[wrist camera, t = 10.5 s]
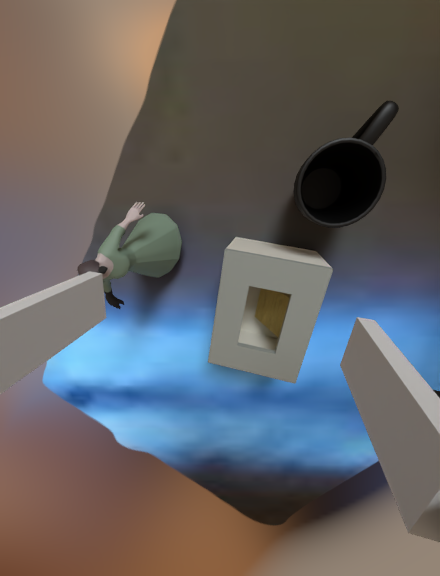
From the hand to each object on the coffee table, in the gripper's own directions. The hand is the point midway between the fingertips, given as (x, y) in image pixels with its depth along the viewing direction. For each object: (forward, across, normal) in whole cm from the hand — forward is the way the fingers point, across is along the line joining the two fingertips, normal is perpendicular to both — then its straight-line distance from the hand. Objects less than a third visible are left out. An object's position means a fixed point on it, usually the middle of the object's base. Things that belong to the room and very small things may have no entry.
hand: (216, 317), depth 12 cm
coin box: (+26, +3, -8) cm, 27 cm away
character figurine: (+26, -15, -4) cm, 30 cm away
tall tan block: (+24, +4, -9) cm, 26 cm away
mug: (+26, +9, +9) cm, 29 cm away
